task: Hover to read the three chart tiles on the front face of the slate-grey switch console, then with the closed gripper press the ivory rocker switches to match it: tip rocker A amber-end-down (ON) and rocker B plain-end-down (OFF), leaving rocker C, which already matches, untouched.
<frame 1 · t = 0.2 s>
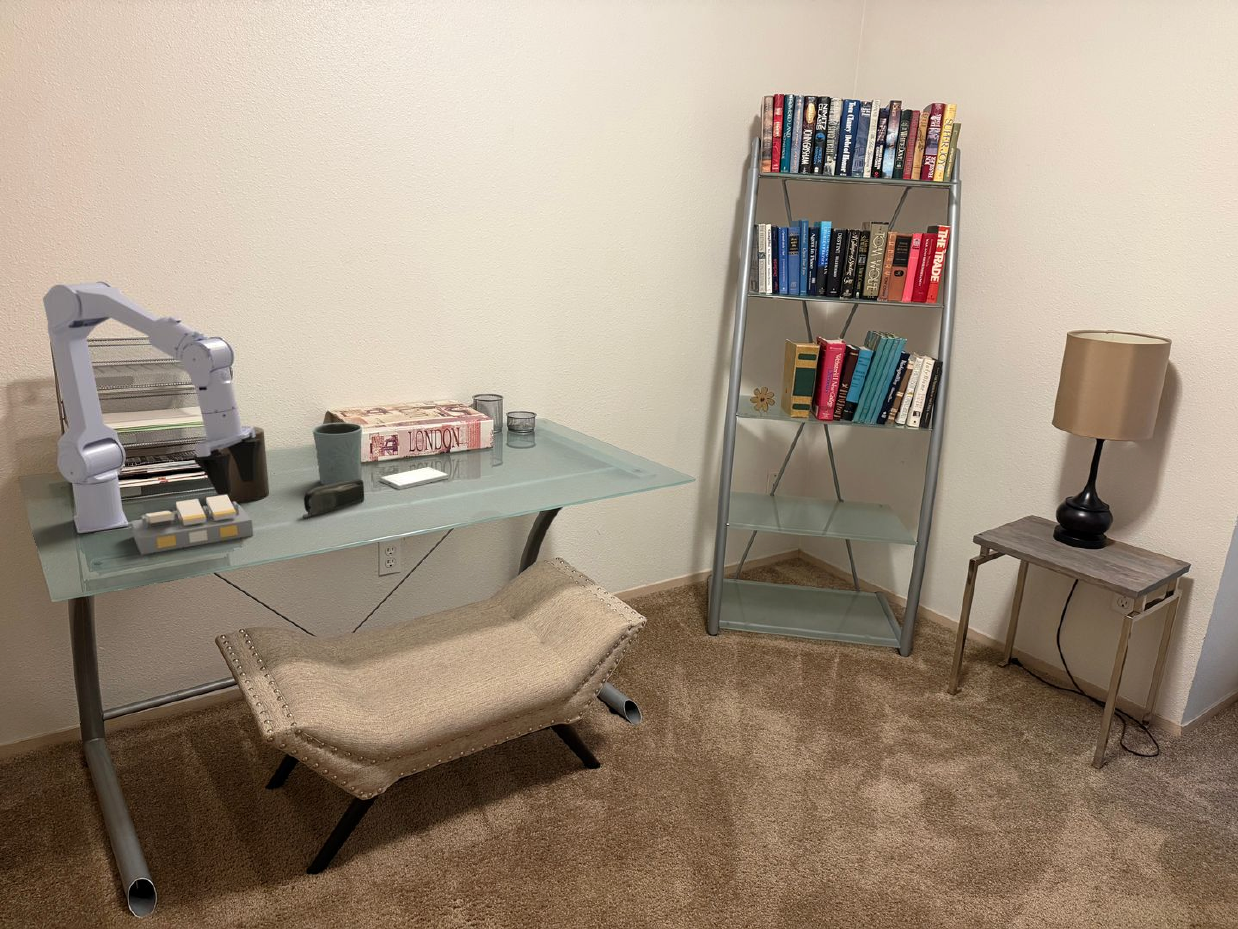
hand: (236, 487, 150), 10 cm above the table, tool pointing down, fingers open, 7 cm apart
pillar candle: (244, 496, 178), on the table
hard drive: (414, 483, 192), on the table
rocker A: (159, 516, 151), point 5 cm above the table, hinge at -12.0°
rocker C: (221, 507, 157), point 5 cm above the table, hinge at 12.0°
rocker B: (190, 511, 154), point 5 cm above the table, hinge at 12.0°
grey green cup: (340, 481, 190), on the table
console: (193, 536, 156), on the table
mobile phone: (333, 510, 172), on the table
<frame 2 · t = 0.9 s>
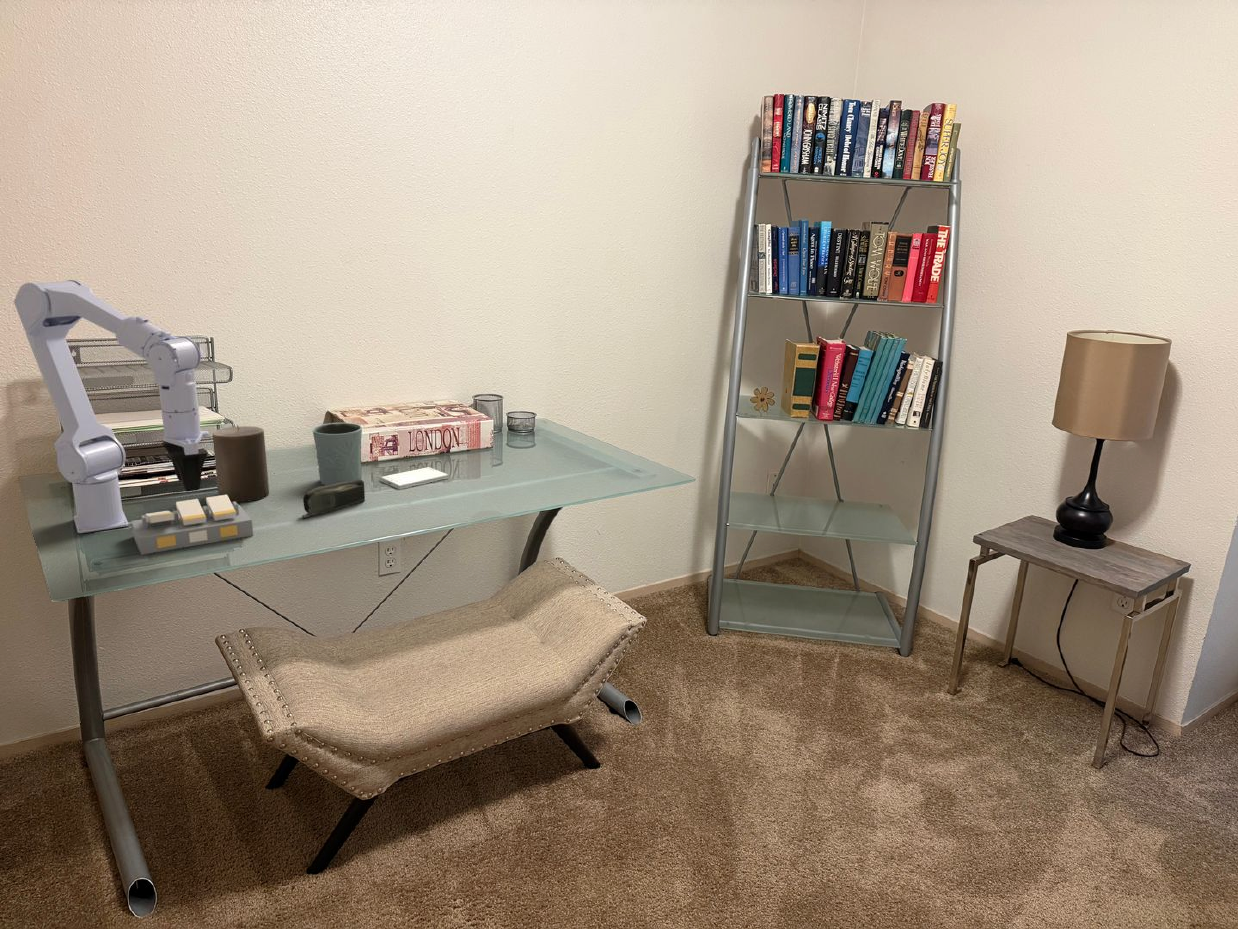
hand: (188, 485, 152), 10 cm above the table, tool pointing down, fingers open, 6 cm apart
nothing on the table moved.
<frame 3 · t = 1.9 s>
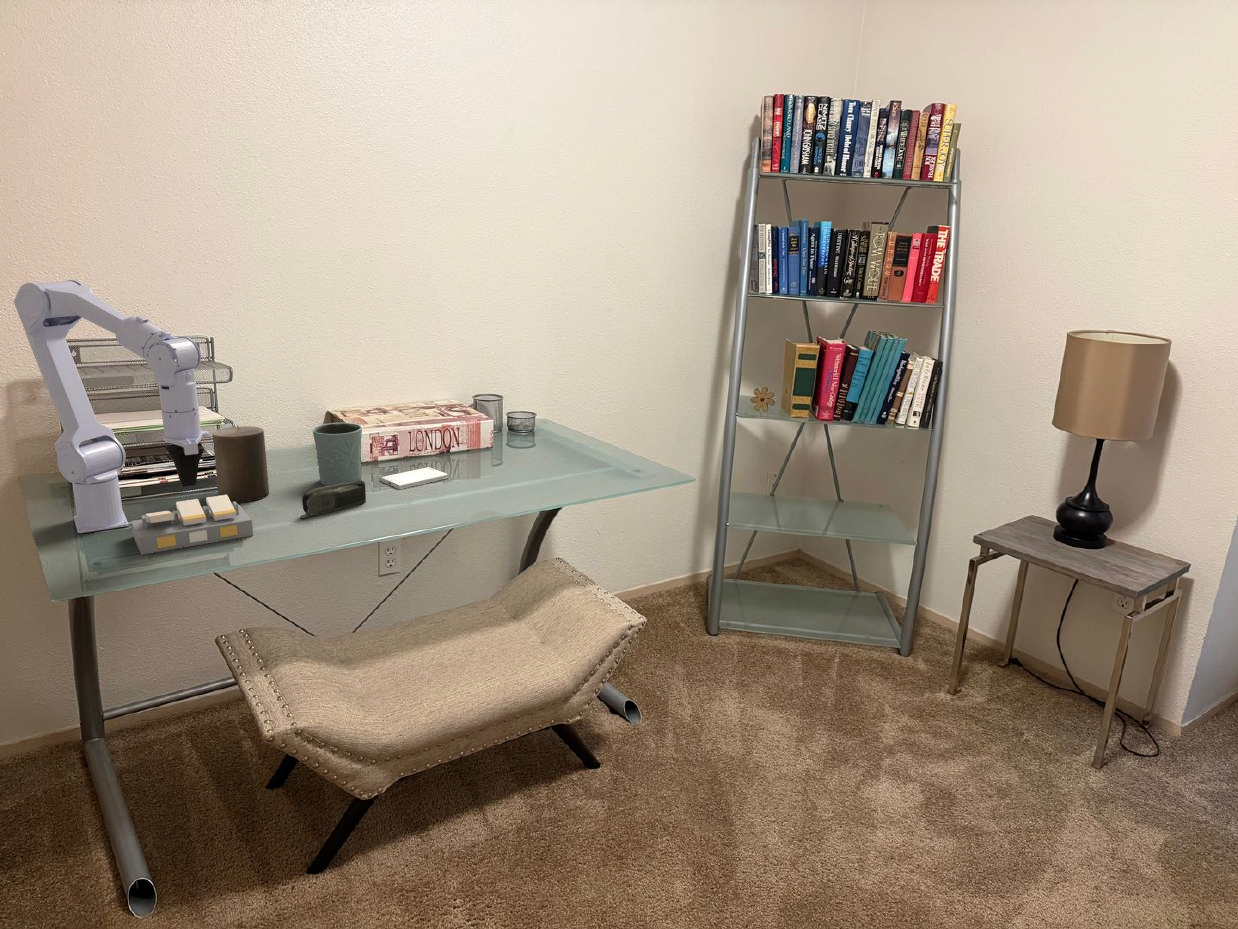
hand: (188, 485, 152), 10 cm above the table, tool pointing down, fingers closed
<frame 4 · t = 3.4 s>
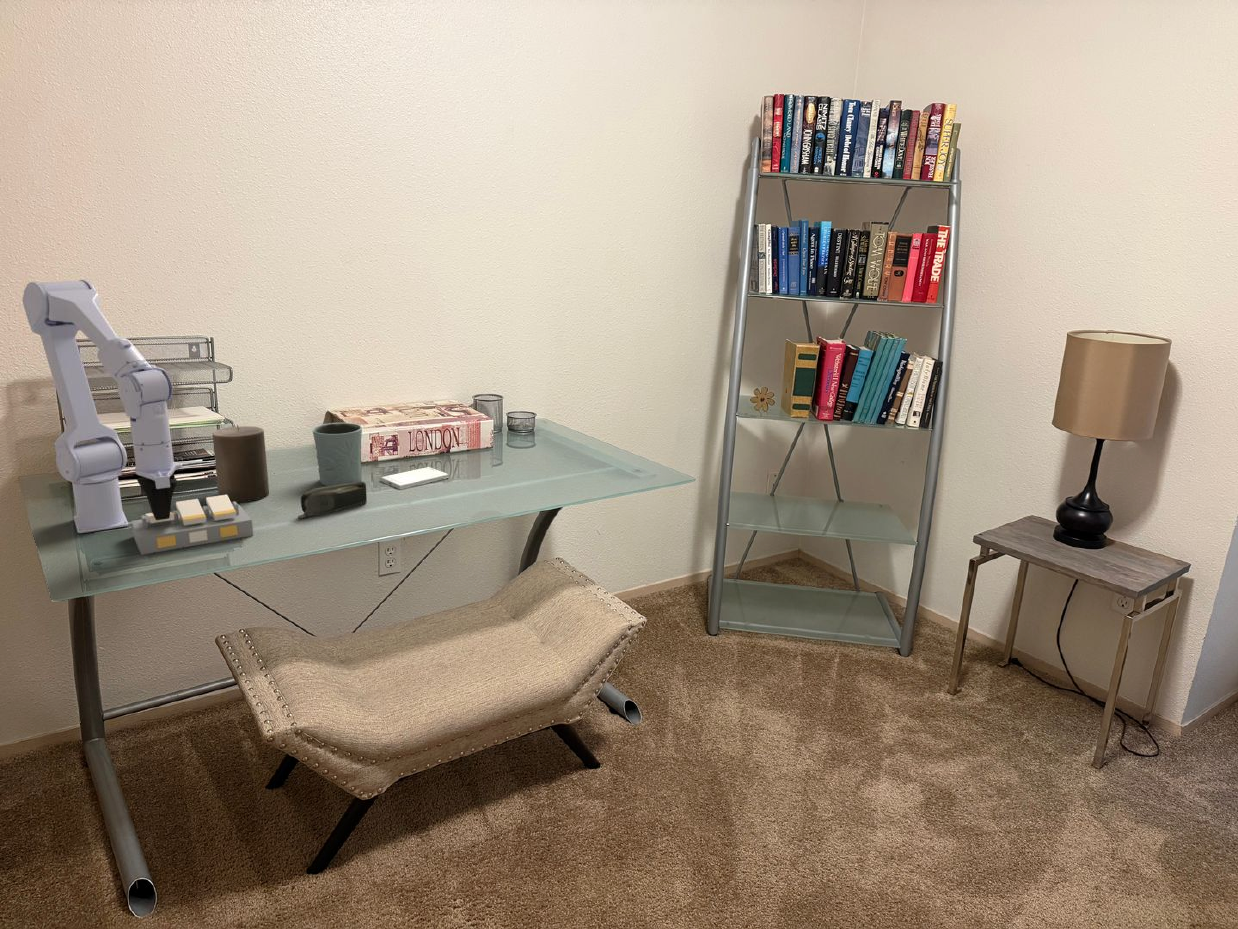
hand: (161, 517, 149), 5 cm above the table, tool pointing down, fingers closed, pressing on rocker A
rocker A: (159, 516, 151), point 5 cm above the table, hinge at -11.5°, touching gripper
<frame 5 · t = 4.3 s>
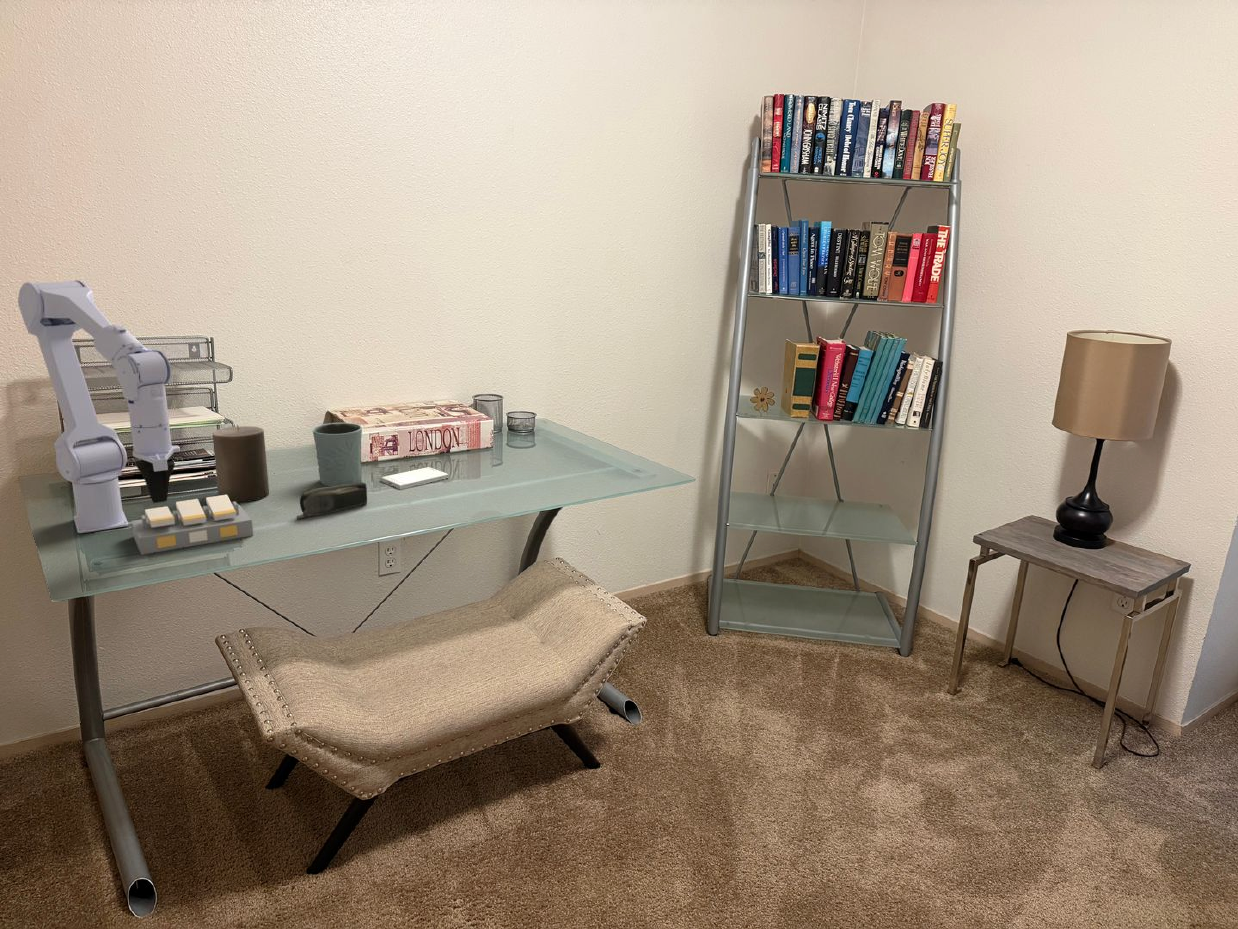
hand: (159, 501, 149), 8 cm above the table, tool pointing down, fingers closed
rocker A: (159, 516, 151), point 5 cm above the table, hinge at 1.6°
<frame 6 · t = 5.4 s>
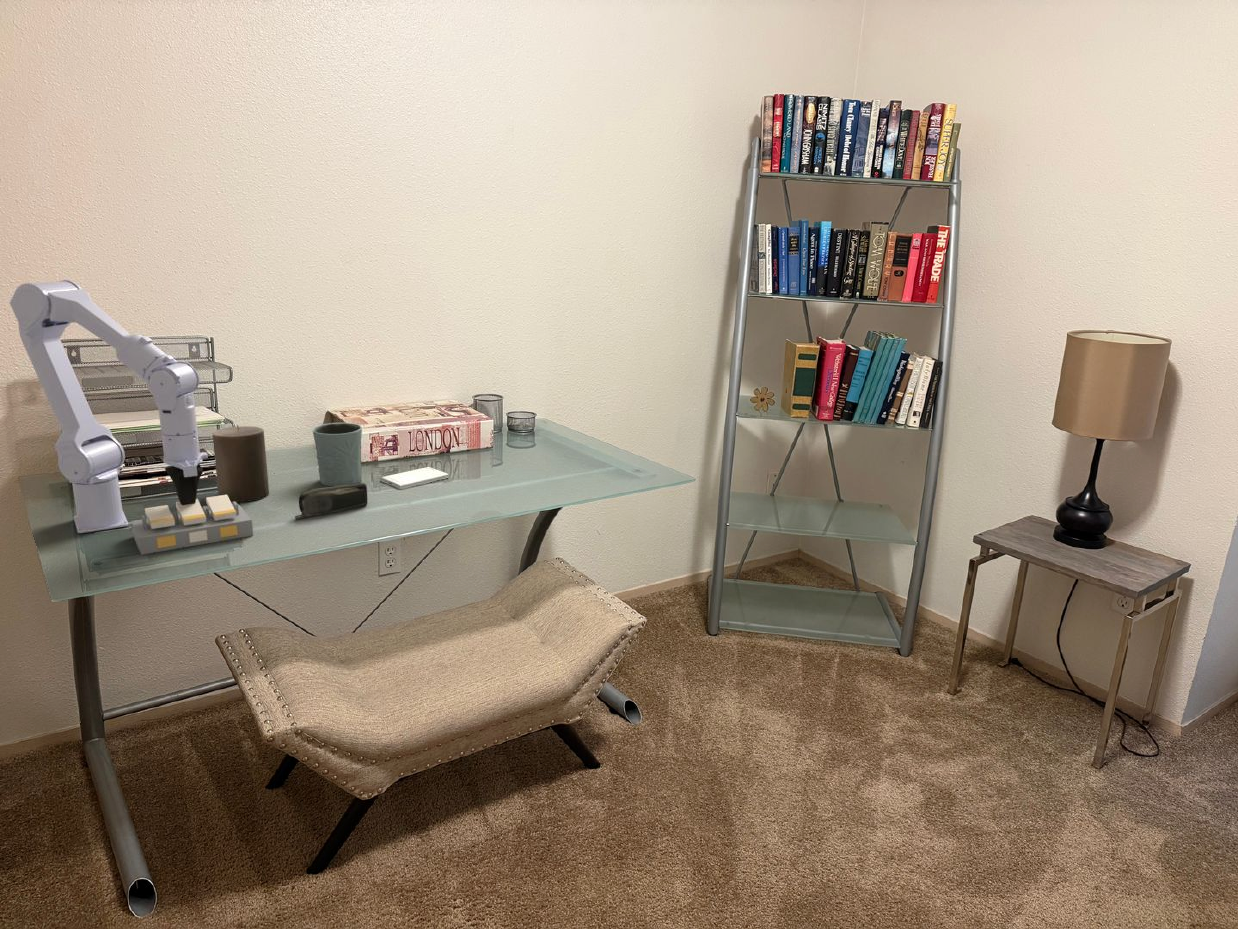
hand: (188, 505, 156), 5 cm above the table, tool pointing down, fingers closed, pressing on rocker B
rocker A: (159, 516, 151), point 5 cm above the table, hinge at 5.8°
rocker B: (190, 511, 154), point 5 cm above the table, hinge at 11.9°, touching gripper
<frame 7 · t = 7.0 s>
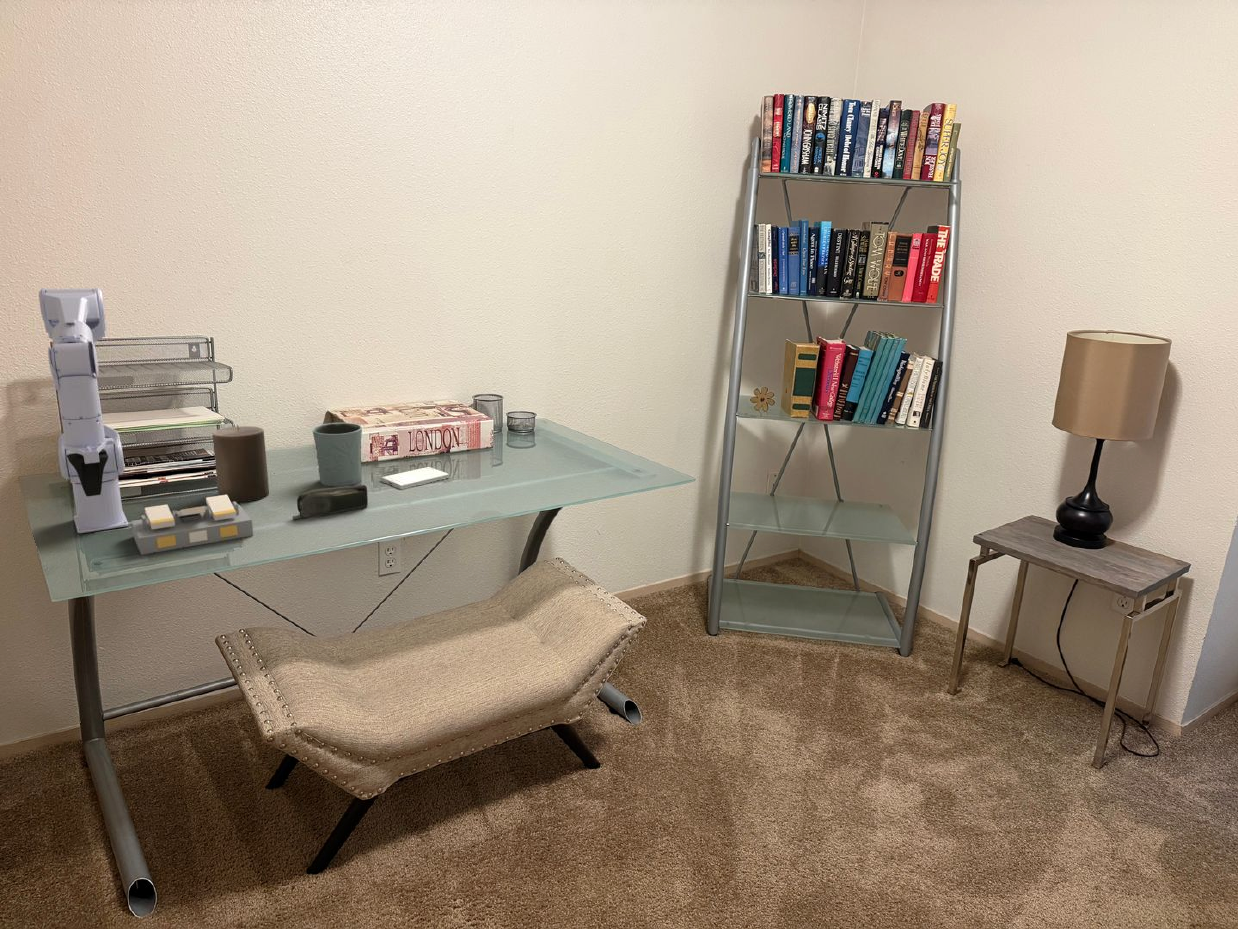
hand: (93, 494, 146), 10 cm above the table, tool pointing down, fingers closed
rocker A: (159, 516, 151), point 5 cm above the table, hinge at 7.7°
rocker B: (190, 511, 154), point 5 cm above the table, hinge at -19.3°, touching console
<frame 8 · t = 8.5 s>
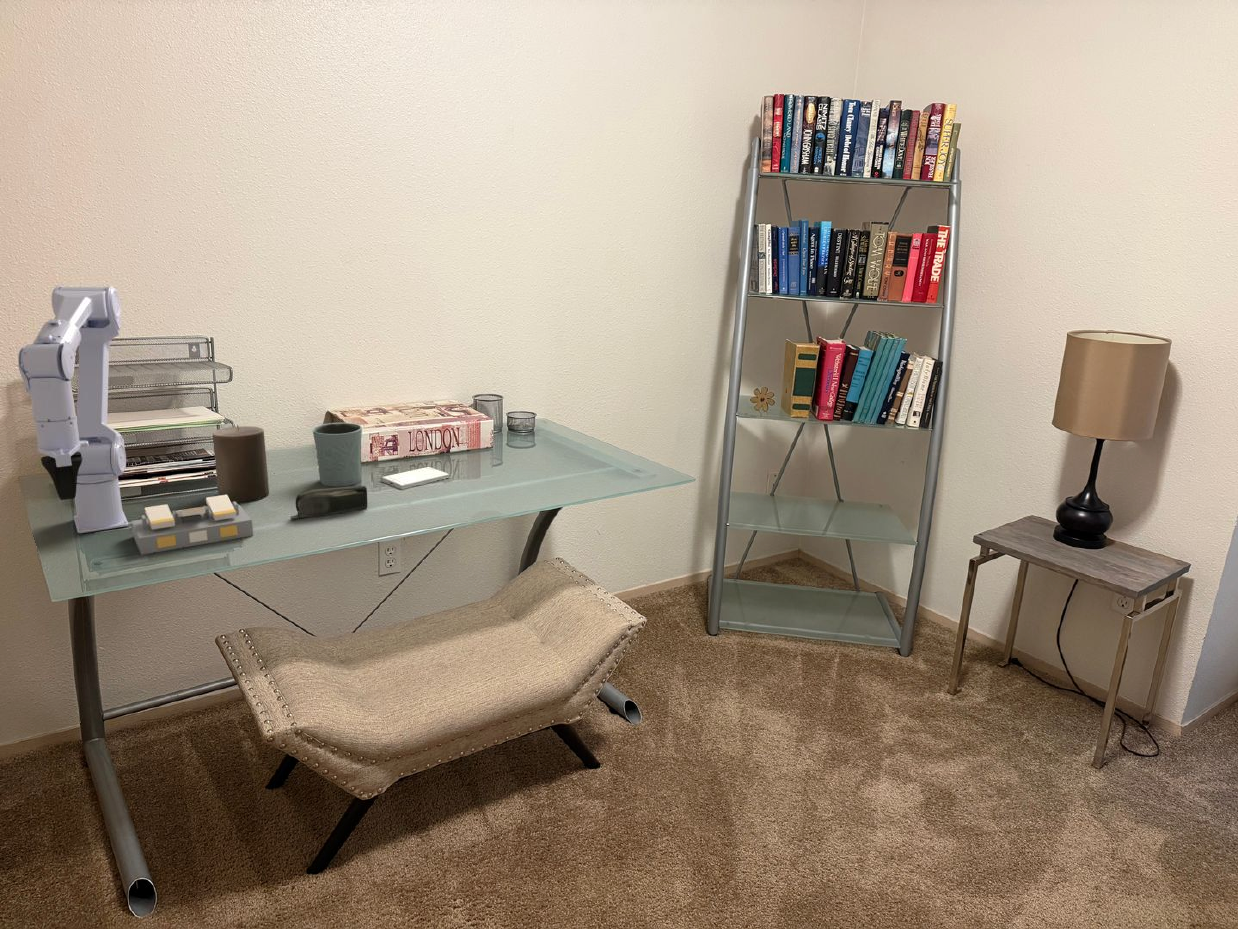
hand: (67, 498, 144), 10 cm above the table, tool pointing down, fingers closed
rocker A: (159, 516, 151), point 5 cm above the table, hinge at 8.1°
rocker B: (190, 511, 154), point 5 cm above the table, hinge at -16.5°
at the end: rocker A at +8° (first picture: -12°); rocker B at -16° (first picture: +12°); rocker C at +12° (first picture: +12°) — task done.
